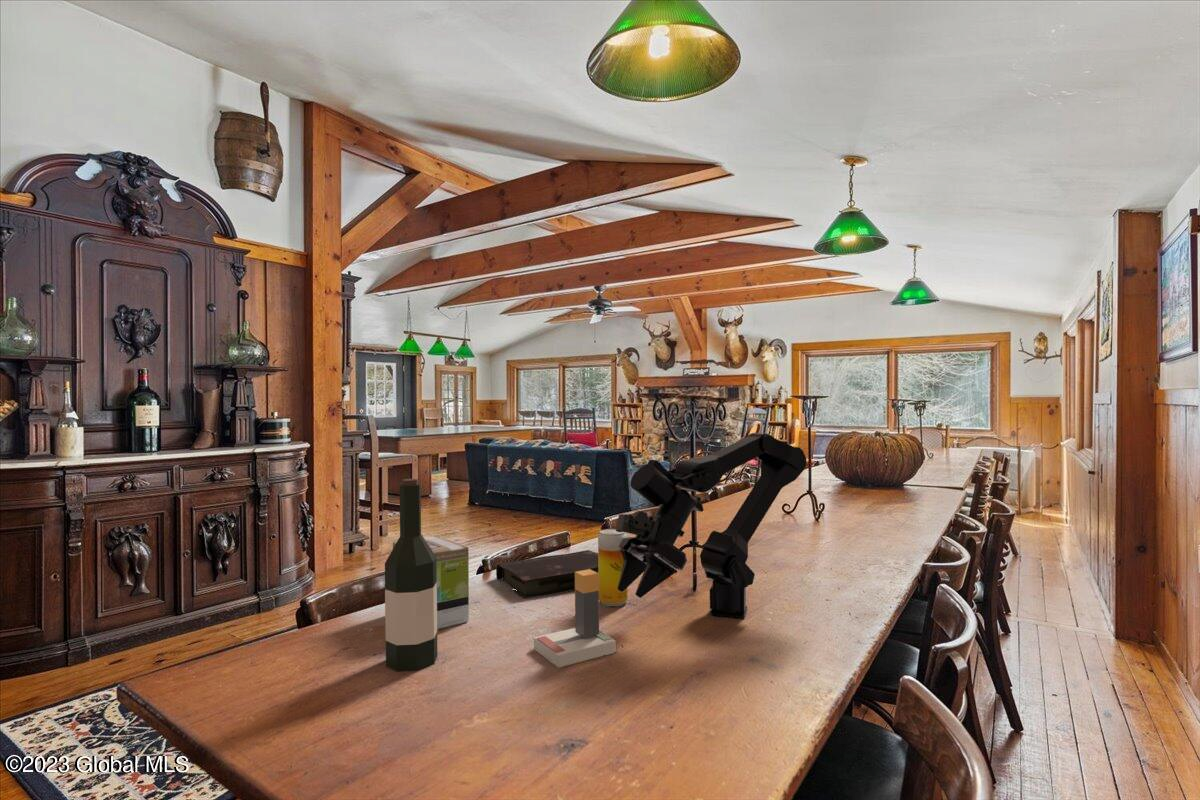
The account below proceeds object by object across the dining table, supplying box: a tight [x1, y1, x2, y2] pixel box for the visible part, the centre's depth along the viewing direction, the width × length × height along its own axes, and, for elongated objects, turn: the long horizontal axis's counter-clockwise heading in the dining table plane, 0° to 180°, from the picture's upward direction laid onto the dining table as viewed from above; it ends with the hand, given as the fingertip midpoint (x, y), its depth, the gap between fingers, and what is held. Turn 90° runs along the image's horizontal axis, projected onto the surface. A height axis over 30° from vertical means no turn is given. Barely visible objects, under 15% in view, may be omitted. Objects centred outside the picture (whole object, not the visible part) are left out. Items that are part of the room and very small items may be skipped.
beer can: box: [597, 528, 629, 607], centre depth 135 cm, size 6×6×15 cm
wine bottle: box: [384, 478, 438, 672], centre depth 106 cm, size 8×8×30 cm
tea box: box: [392, 535, 470, 630], centre depth 127 cm, size 15×10×15 cm, turn 39°
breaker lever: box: [574, 569, 600, 638], centre depth 111 cm, size 3×3×10 cm
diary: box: [495, 549, 598, 599], centre depth 151 cm, size 19×25×5 cm
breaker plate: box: [533, 627, 617, 668], centre depth 109 cm, size 11×9×2 cm
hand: (628, 593), depth 115 cm, fingers open, 9 cm apart
